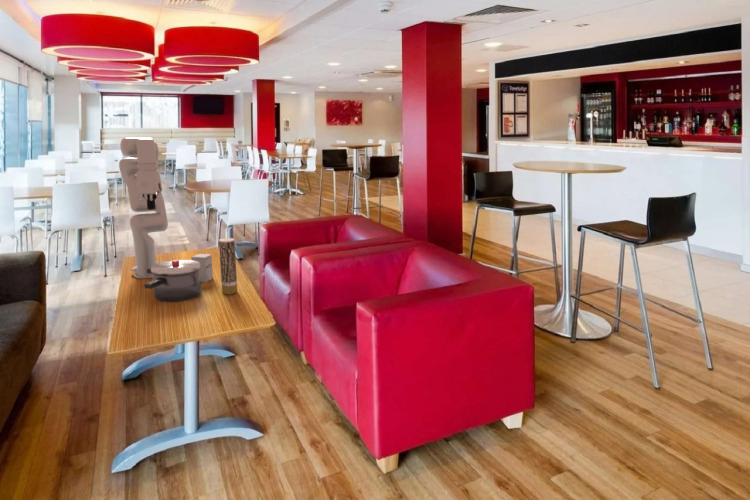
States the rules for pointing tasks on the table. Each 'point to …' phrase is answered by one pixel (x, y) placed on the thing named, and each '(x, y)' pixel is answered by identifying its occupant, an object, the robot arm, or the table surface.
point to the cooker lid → (175, 267)
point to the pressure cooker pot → (175, 286)
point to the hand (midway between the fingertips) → (151, 209)
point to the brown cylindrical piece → (228, 265)
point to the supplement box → (204, 266)
